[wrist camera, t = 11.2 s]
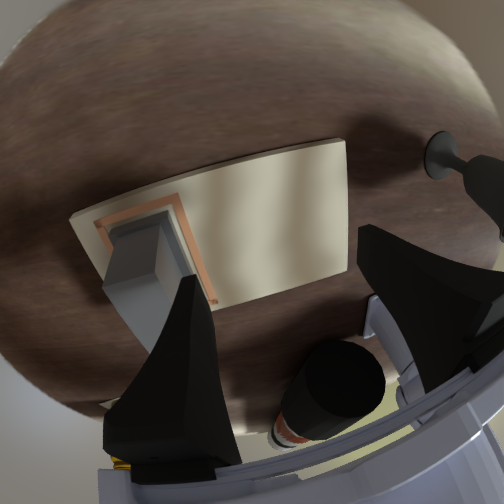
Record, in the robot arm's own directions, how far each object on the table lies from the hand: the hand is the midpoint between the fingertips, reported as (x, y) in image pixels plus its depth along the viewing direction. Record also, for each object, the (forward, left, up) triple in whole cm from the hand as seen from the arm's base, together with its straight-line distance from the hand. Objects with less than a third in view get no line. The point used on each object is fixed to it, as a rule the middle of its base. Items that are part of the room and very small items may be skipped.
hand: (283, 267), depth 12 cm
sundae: (-19, +1, -10) cm, 21 cm away
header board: (+3, +4, -9) cm, 11 cm away
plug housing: (+8, +4, -7) cm, 11 cm away
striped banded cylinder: (-1, +37, -10) cm, 39 cm away
